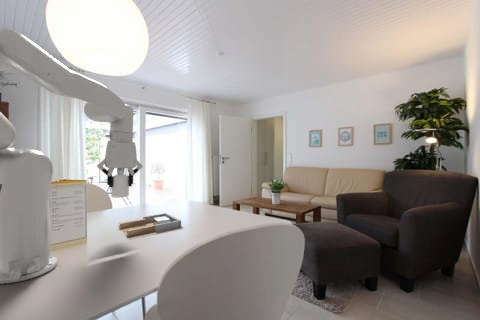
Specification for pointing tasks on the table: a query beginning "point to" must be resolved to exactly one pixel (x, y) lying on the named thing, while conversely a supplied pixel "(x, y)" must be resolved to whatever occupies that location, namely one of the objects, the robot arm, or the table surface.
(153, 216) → the grey tray
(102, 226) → the table surface
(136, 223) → the slotted board
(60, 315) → the table surface
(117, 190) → the eye dropper bottle
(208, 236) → the table surface
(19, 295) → the table surface
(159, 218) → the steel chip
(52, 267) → the robot arm
